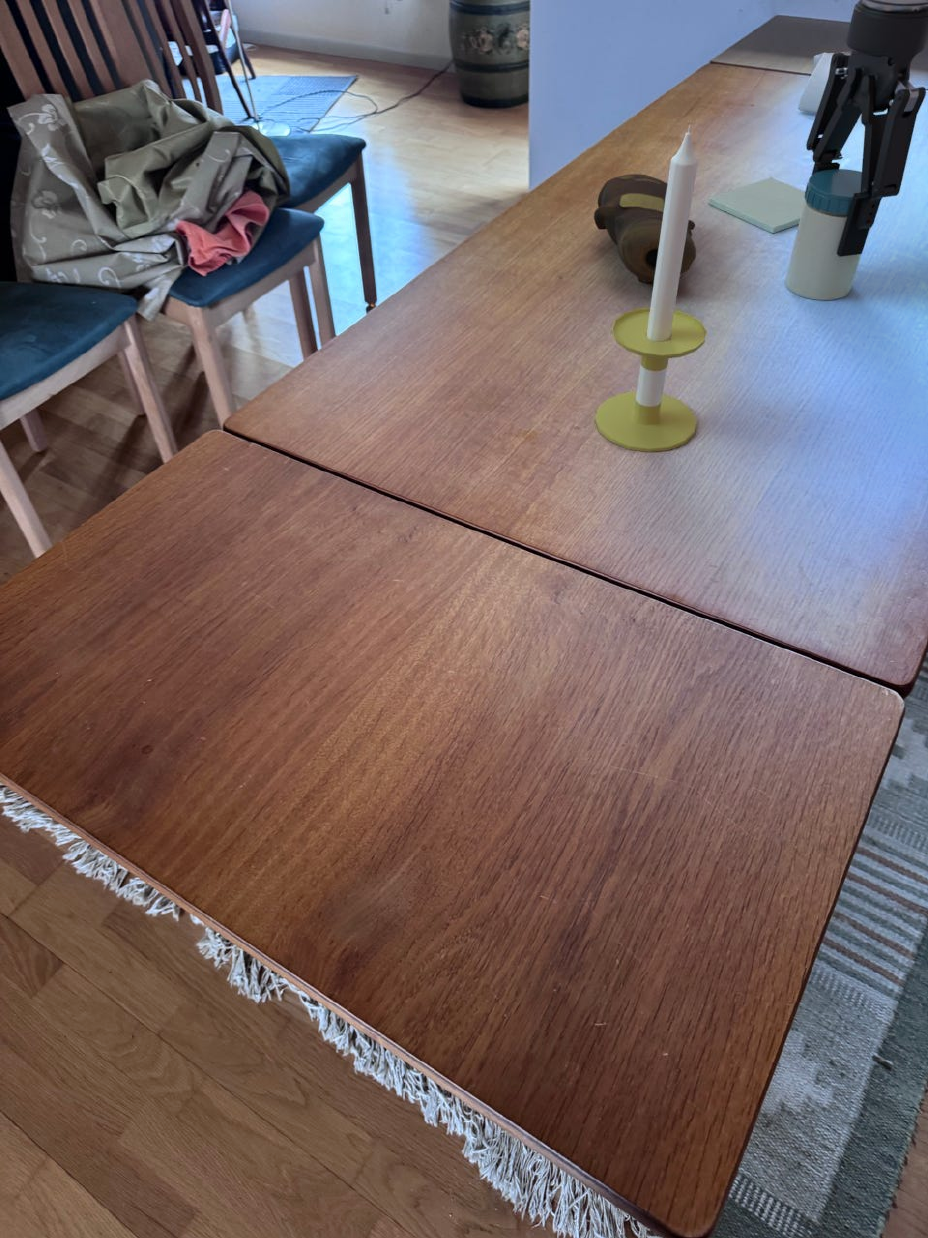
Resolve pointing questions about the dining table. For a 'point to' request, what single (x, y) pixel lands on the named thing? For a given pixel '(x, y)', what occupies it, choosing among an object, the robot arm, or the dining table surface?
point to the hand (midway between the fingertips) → (830, 237)
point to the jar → (820, 257)
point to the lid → (833, 190)
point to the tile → (764, 204)
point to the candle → (658, 333)
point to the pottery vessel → (638, 222)
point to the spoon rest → (816, 83)
